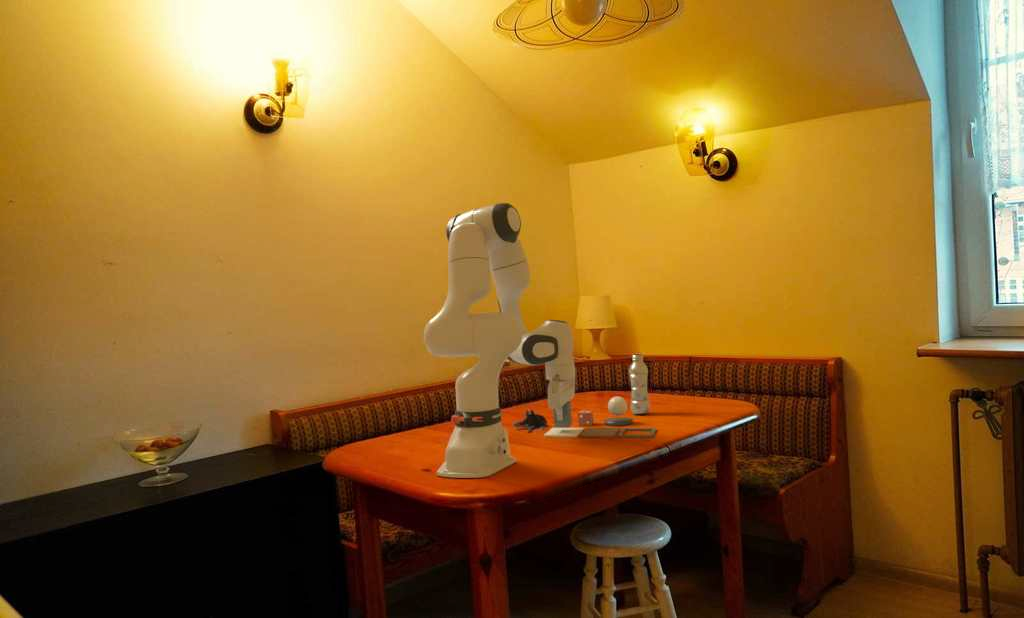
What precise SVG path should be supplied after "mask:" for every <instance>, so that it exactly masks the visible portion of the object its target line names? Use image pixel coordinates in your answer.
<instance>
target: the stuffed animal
mask: <svg viewBox="0 0 1024 618" xmlns="http://www.w3.org/2000/svg"><path fill="white" fill-rule="evenodd" d="M525 416H526V417H524V418H523V419H522V421H517V422H513V423H512V427H514V428H516V429H518V428H522V430H526V429H527V431H526V433H527V434H530V433H531V432H532V430H535V429H536V428H537V429H536V431H542V429H544V428H546V427H547V425H548V421H547V419H546V417H544V416H543V415H541V414H538V413H535V411H534V410H533V409H530V408H529V409H527V410H526V411H525Z"/></svg>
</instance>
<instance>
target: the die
mask: <svg viewBox="0 0 1024 618" xmlns="http://www.w3.org/2000/svg"><path fill="white" fill-rule="evenodd" d="M577 417H578V419H577V422H578V427H581V426H583V427H589V426H590V427H591V426H592V425H594V423H595V422H594V410H580V411H579V412H578V413H577Z"/></svg>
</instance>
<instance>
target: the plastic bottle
mask: <svg viewBox="0 0 1024 618" xmlns="http://www.w3.org/2000/svg"><path fill="white" fill-rule="evenodd" d="M631 360H632V363H631V364H630V366H629V368H628V374H629V379H630V386H631V387H630V388H631V395H630V396H631V400H630V411H631V412H632V413H633V414H634V415H641V416H642V415H645V414H649V412H650V410H651V403H650V400H649V393H648V374H649V369H648V366H647V365H646V363H644V355H643V353H636V354H631Z"/></svg>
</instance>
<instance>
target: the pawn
mask: <svg viewBox="0 0 1024 618" xmlns="http://www.w3.org/2000/svg"><path fill="white" fill-rule="evenodd" d="M552 410H553V425H554V427H553V428H571V425H573V421H572V420H573V419H572V417H573V416H572V401H569V402H567V403H566V404H565V405H564V406H563V414H564V419H563V420H562V421H558V420H557V414H556V411H555V409H552Z"/></svg>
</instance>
